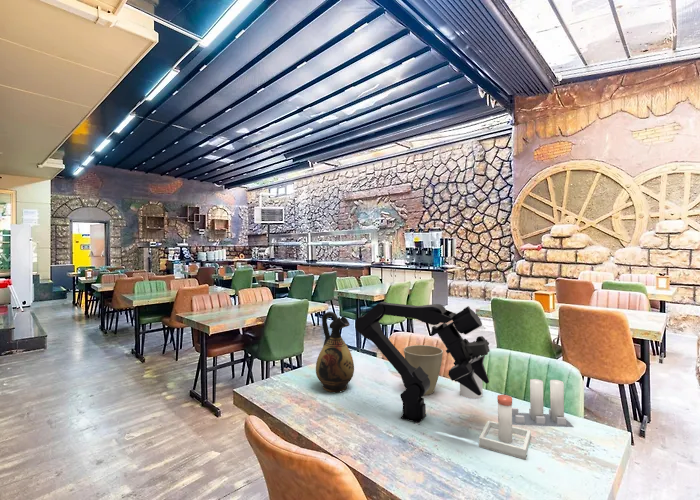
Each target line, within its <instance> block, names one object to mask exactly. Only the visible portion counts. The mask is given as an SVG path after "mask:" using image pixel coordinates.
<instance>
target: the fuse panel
mask: <svg viewBox="0 0 700 500" xmlns="http://www.w3.org/2000/svg"><path fill="white" fill-rule="evenodd" d="M529 386H530V387H529V395H530V396H529V398H530V401H529V402H530V408H529V411H528V413H526V412H519V408H518V407H512V426H538V427H539V426H541V427H555V428H556V427H560V428H575V427H574V425H573V424H572V423H570V421H569V420H568V419H567V418H566V417H565V398H564V397H565V396H564V395H565V390H564V389H565V385H564V382H563V381H562V380H560V379H550V380H549V388H550V391H549V393H550V396H549V397H550V399H549V400H550V409H548V413H544V381H543V380H541V379H538V378H530V379H529Z"/></svg>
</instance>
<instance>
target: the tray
mask: <svg viewBox="0 0 700 500" xmlns="http://www.w3.org/2000/svg"><path fill="white" fill-rule="evenodd" d="M491 428H492V429H497V430H498V421H491V420H487V422H486V423H485V425H484V427H483V429H482V432H481V433H480V435H479V437H478V447H479V448H483V449H485V450H489V451H493V452H497V453H501V454H504V455H508V456H511V457H515V458H518V459H521V460H527V456H528V454H527V453H528V448H529V444H530V440H531V438H532V437H531V435H532V434H531V433H532V432H531V430H530V429H527V428H523V427H517V426H515V425H512V434H514V435H515V434H516V435H520V436H524V437H525V438H524V441H523V445H522V447H521V446H518V445H515V444H511V443H504V442H501V441H500V440H495V439H491V438H487V435H488V433H489V431H490V429H491Z"/></svg>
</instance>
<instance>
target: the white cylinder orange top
mask: <svg viewBox="0 0 700 500" xmlns="http://www.w3.org/2000/svg"><path fill="white" fill-rule="evenodd" d="M496 398H497V423H498V429H497V431H498V433H497V436H498V438H497V439H498V441H499V442H503V443H507V444H511V443H512V442H513V433H512V426H513V425H512V408H513V397H512V396H511V395H508V394H498V395H497V397H496Z"/></svg>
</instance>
